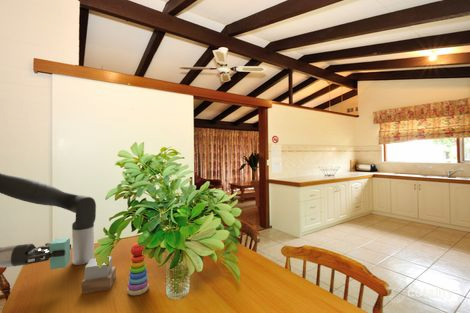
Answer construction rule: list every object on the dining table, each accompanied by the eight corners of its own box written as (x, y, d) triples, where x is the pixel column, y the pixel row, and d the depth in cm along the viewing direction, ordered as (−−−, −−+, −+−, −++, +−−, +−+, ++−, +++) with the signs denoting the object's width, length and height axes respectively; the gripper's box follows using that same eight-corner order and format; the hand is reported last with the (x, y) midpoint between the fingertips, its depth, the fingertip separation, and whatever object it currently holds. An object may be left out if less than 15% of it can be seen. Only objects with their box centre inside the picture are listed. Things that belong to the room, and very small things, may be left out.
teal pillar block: (56, 263, 93) (55, 239, 92) (70, 261, 94) (69, 237, 94) (50, 269, 88) (49, 243, 88) (65, 267, 89) (64, 242, 89)
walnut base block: (90, 280, 98) (90, 269, 98) (115, 277, 101) (115, 266, 101) (81, 294, 89) (81, 281, 89) (110, 290, 92) (110, 277, 92)
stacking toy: (153, 288, 92) (152, 242, 92) (135, 299, 85) (135, 249, 85) (140, 282, 96) (140, 238, 96) (122, 292, 89) (122, 245, 89)
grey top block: (90, 270, 98) (90, 258, 98) (111, 267, 100) (111, 256, 100) (84, 280, 90) (84, 267, 90) (107, 276, 92) (107, 264, 92)
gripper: (2, 253, 80) (59, 247, 85) (26, 238, 93) (74, 234, 98) (3, 275, 80) (60, 267, 85) (27, 257, 94) (75, 251, 99)
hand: (67, 249), depth 92 cm, fingers closed on teal pillar block, 5 cm apart
